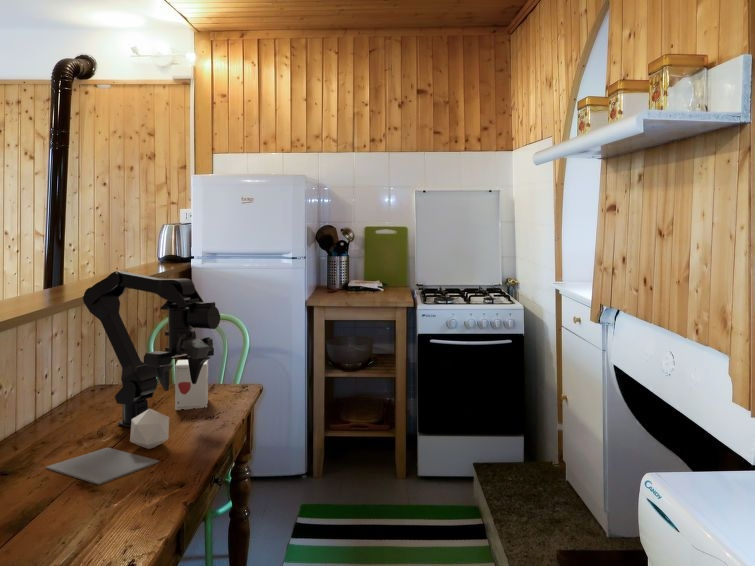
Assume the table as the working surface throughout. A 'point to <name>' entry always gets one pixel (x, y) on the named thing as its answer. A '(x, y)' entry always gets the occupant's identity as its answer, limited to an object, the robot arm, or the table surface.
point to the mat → (102, 465)
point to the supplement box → (190, 387)
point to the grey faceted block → (149, 429)
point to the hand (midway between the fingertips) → (180, 387)
